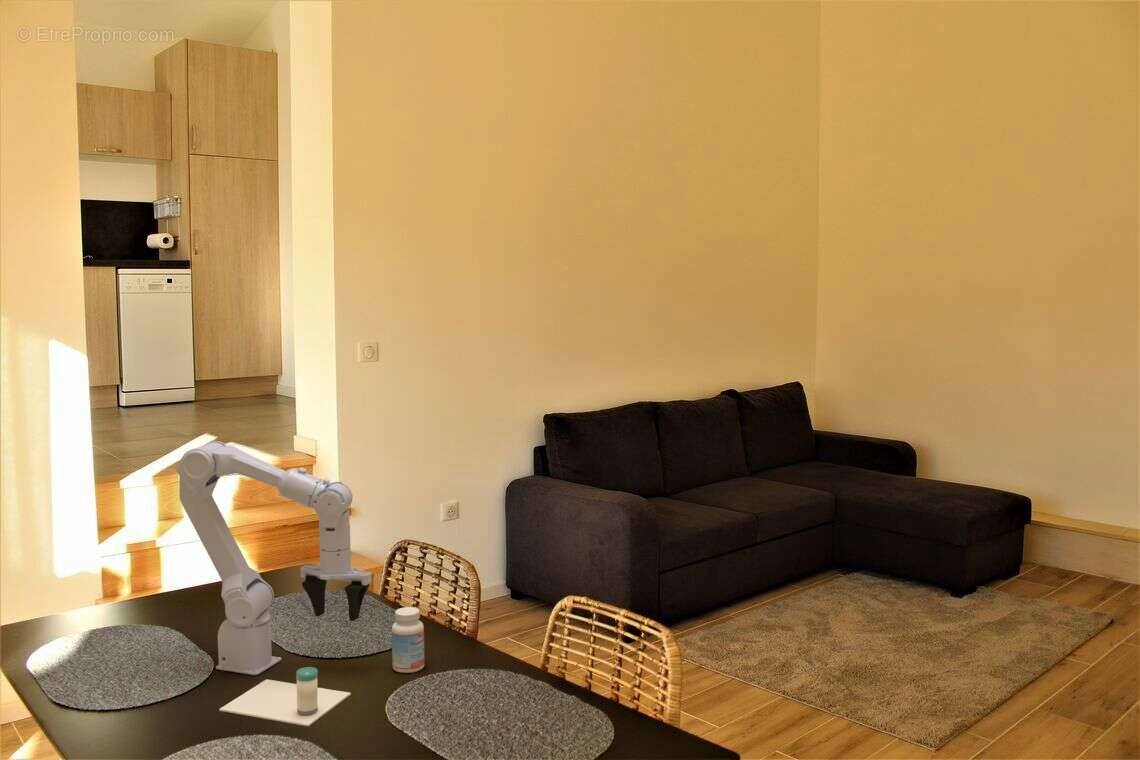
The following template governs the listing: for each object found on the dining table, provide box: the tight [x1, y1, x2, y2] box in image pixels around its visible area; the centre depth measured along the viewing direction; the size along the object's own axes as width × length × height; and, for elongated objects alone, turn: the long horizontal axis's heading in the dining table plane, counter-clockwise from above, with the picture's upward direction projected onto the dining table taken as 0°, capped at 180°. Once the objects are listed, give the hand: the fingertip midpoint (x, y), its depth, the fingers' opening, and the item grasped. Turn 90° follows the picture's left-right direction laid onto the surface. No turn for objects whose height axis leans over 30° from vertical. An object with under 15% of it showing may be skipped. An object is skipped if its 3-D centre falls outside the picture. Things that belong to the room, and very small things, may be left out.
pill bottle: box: [391, 606, 425, 674], centre depth 181 cm, size 6×6×11 cm
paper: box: [218, 679, 352, 727], centre depth 167 cm, size 18×13×1 cm
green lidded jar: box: [295, 666, 319, 716], centre depth 162 cm, size 4×4×7 cm
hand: (336, 616), depth 181 cm, fingers open, 7 cm apart
